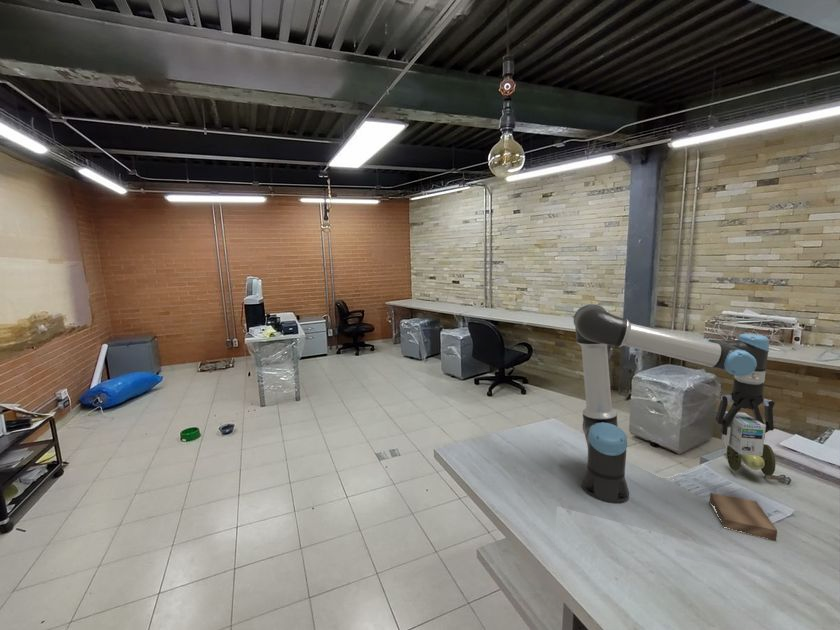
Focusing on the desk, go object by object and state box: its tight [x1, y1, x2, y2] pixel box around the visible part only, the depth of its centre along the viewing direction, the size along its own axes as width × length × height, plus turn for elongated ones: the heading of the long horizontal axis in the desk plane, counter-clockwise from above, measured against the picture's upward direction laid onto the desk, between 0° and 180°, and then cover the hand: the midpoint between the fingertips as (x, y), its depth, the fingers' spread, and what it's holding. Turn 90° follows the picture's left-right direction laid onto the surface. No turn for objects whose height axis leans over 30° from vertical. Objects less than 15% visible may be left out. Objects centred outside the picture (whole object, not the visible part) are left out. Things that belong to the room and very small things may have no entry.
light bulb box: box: [721, 410, 766, 456], centre depth 125 cm, size 11×7×11 cm, turn 168°
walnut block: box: [708, 492, 778, 542], centre depth 115 cm, size 12×14×5 cm
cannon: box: [724, 443, 776, 477], centre depth 148 cm, size 25×12×11 cm, turn 158°
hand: (741, 445), depth 125 cm, fingers closed on light bulb box, 7 cm apart
